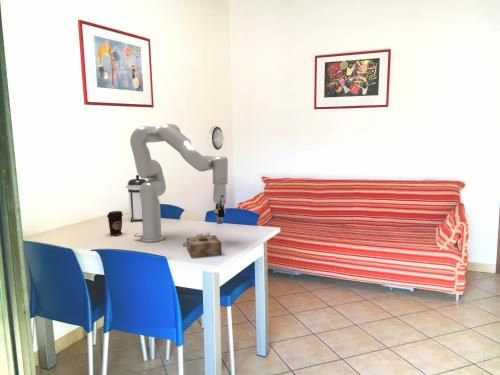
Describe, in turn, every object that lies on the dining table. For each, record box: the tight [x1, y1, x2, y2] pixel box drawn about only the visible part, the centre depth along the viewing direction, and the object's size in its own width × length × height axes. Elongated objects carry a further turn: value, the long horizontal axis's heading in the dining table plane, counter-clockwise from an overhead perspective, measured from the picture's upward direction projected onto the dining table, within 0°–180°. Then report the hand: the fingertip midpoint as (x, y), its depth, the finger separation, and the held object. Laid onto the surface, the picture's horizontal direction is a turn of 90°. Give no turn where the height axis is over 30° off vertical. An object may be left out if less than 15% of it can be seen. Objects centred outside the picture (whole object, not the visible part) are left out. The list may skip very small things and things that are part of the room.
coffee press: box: [125, 174, 147, 223], centre depth 269 cm, size 17×16×30 cm
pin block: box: [186, 234, 222, 259], centre depth 193 cm, size 14×14×6 cm
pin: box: [213, 207, 226, 225], centre depth 209 cm, size 6×6×8 cm
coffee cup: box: [106, 210, 124, 237], centre depth 230 cm, size 9×8×13 cm
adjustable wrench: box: [181, 232, 211, 248], centre depth 215 cm, size 25×6×2 cm, turn 155°
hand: (219, 215), depth 209 cm, fingers closed on pin, 5 cm apart
